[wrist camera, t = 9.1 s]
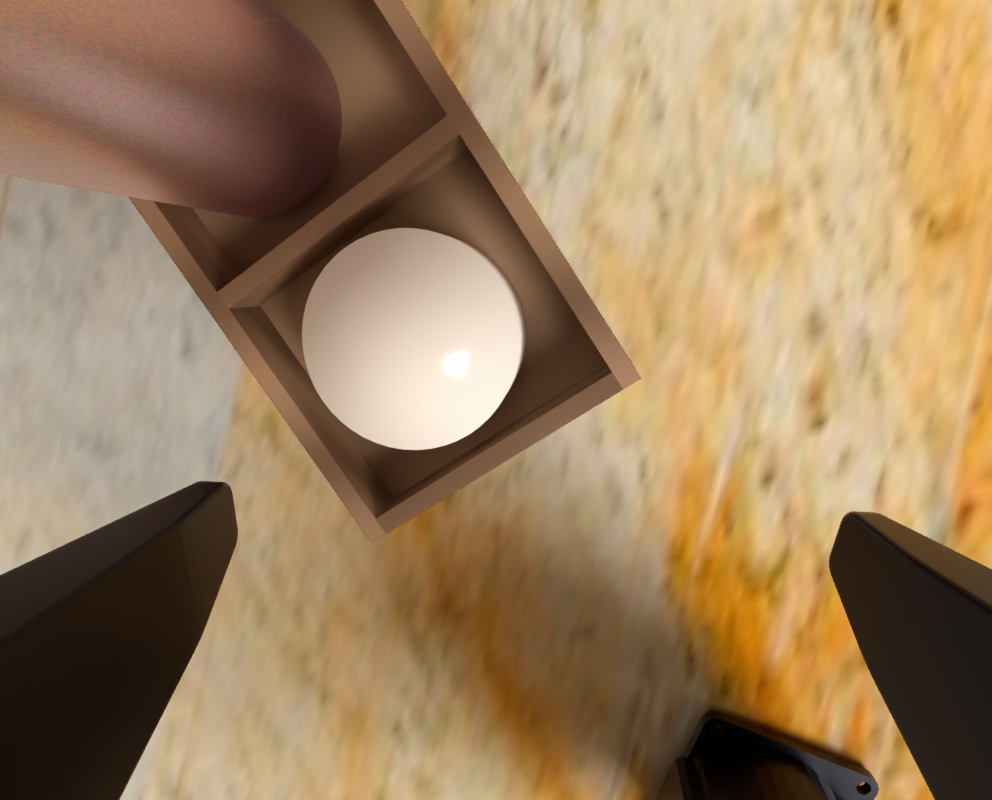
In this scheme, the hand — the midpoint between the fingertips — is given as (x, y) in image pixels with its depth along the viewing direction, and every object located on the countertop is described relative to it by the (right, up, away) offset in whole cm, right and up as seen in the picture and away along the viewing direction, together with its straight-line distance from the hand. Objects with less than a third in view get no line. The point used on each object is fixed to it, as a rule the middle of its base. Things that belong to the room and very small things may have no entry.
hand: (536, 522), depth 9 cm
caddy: (-5, +8, +12) cm, 16 cm away
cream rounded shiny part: (-3, +4, +12) cm, 13 cm away
